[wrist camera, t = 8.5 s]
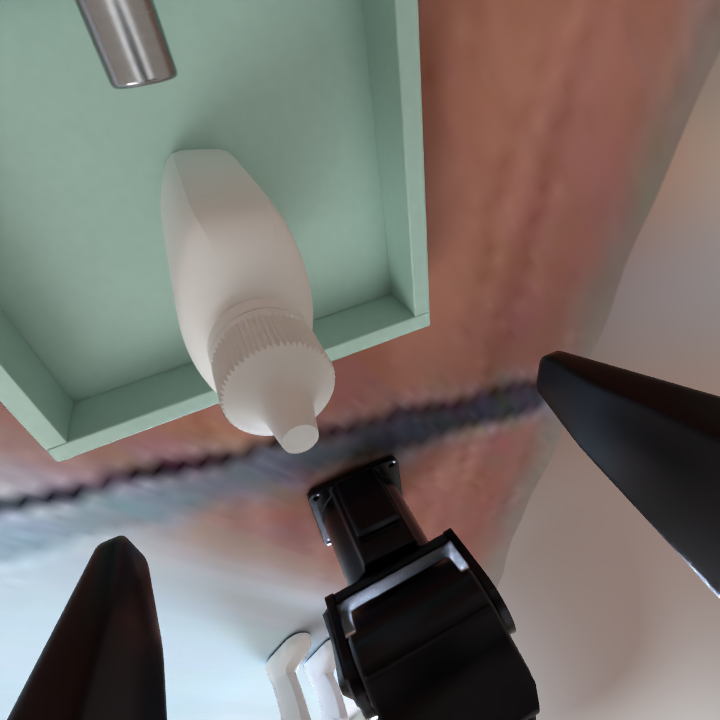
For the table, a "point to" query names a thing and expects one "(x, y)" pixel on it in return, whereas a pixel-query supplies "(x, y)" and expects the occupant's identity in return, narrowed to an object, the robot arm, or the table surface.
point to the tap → (128, 41)
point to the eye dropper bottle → (243, 298)
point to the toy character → (317, 672)
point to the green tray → (143, 192)
